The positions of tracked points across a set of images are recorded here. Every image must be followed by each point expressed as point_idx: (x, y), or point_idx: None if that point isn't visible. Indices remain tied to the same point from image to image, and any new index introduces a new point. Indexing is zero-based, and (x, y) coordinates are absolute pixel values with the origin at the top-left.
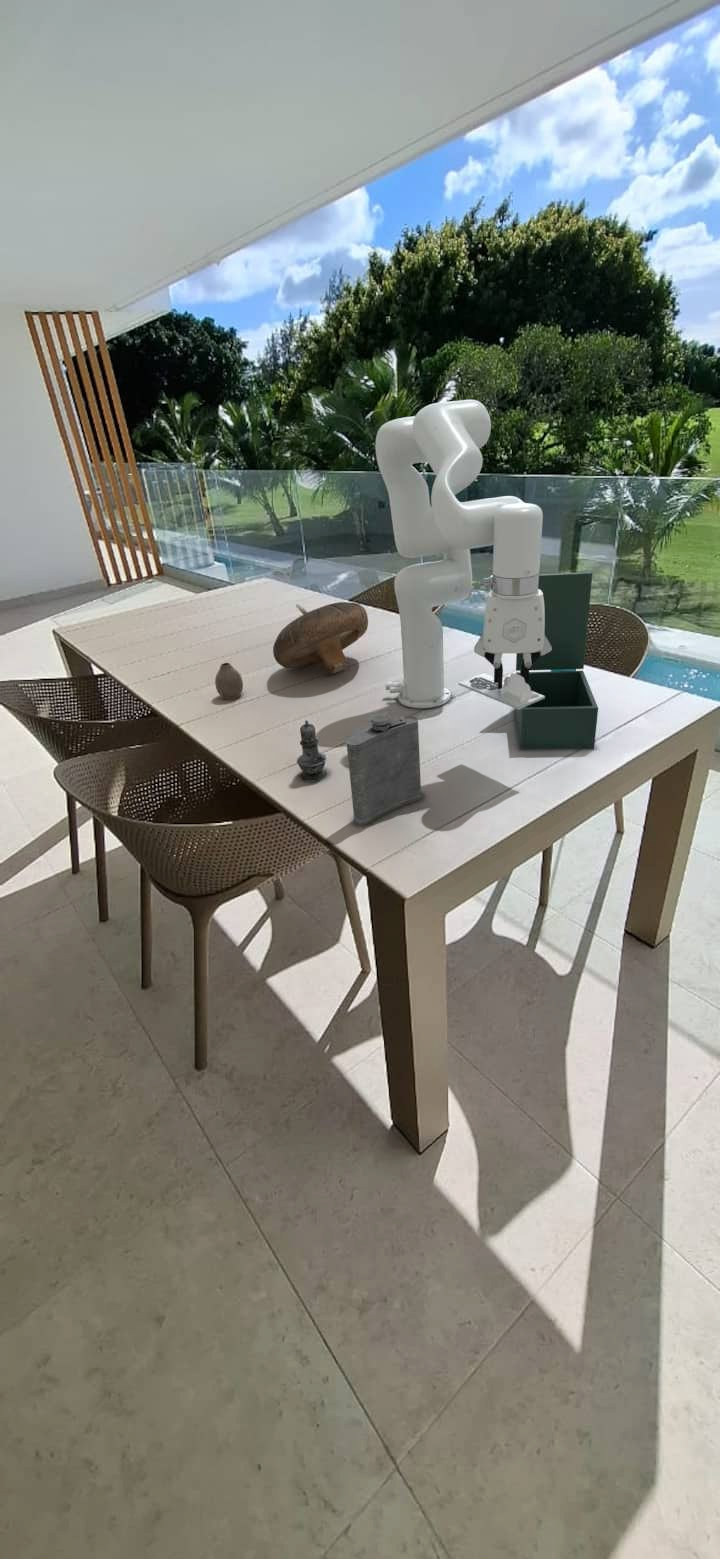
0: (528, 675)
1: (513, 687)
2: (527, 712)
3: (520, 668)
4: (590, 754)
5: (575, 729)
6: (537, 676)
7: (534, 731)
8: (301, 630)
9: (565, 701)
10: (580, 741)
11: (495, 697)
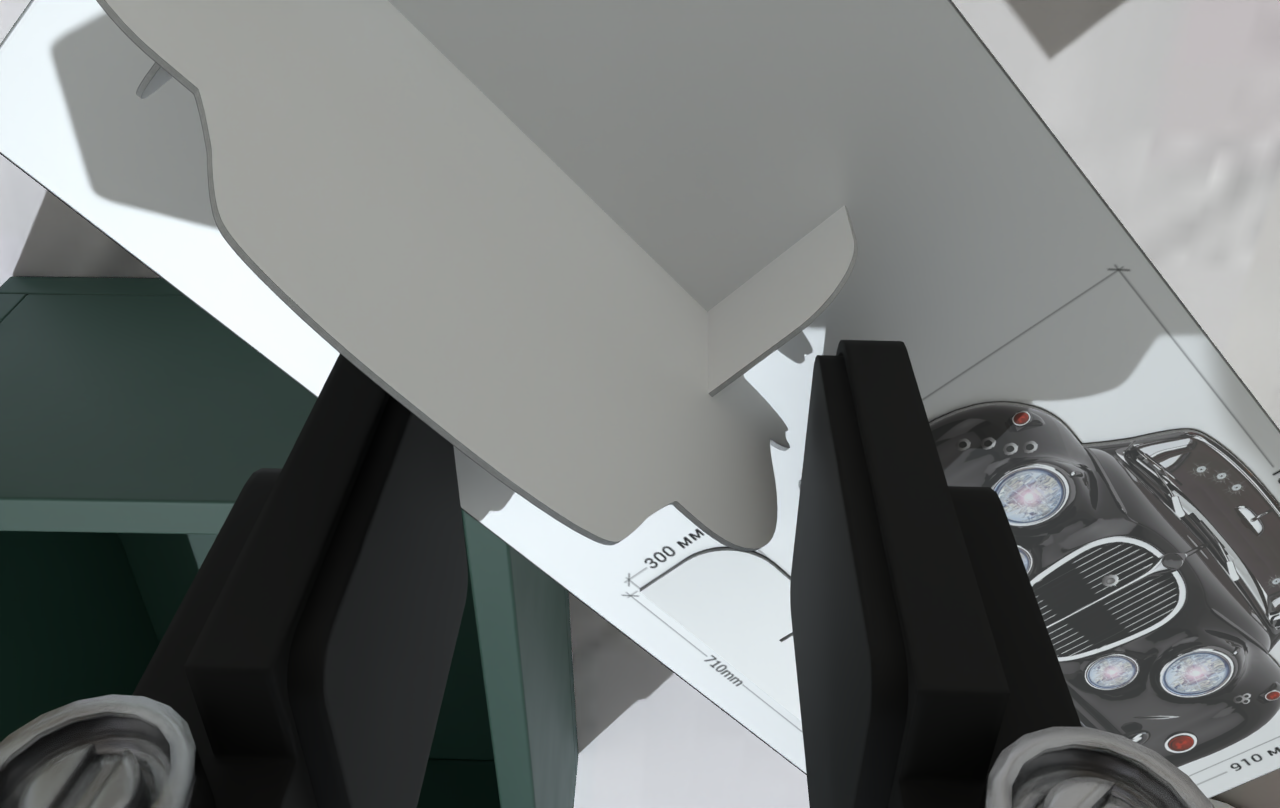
0: (213, 567)
1: (581, 281)
2: None
3: (398, 791)
4: (21, 197)
5: (82, 370)
6: None
7: None
8: None
9: None
10: (83, 309)
11: (985, 74)
